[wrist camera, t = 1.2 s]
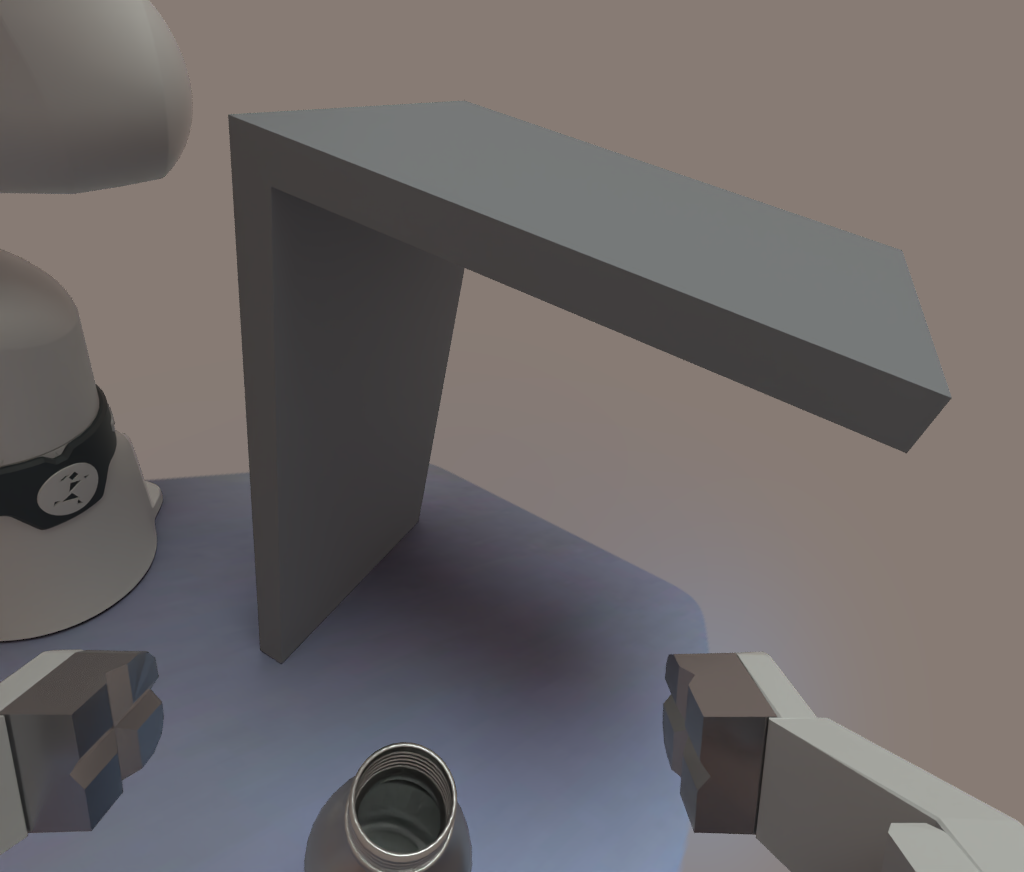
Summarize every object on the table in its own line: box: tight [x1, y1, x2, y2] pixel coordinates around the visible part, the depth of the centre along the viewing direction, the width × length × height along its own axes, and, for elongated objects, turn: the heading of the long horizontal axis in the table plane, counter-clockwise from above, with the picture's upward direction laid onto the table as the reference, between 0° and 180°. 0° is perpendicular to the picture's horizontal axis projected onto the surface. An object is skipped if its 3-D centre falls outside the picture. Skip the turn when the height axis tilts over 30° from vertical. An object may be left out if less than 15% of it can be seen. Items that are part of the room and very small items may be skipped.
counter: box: [228, 101, 951, 664], centre depth 37 cm, size 26×18×36 cm
